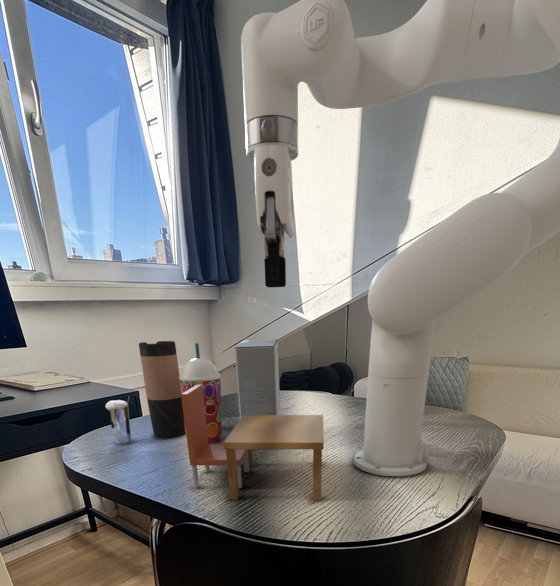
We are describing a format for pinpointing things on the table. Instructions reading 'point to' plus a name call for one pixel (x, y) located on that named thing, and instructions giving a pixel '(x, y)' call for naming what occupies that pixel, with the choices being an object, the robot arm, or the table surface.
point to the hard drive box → (258, 377)
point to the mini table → (275, 442)
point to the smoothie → (205, 391)
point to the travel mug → (163, 388)
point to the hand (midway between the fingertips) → (275, 286)
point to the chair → (205, 437)
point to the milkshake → (119, 420)
